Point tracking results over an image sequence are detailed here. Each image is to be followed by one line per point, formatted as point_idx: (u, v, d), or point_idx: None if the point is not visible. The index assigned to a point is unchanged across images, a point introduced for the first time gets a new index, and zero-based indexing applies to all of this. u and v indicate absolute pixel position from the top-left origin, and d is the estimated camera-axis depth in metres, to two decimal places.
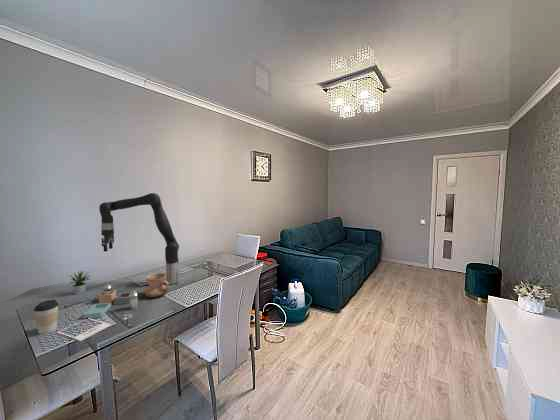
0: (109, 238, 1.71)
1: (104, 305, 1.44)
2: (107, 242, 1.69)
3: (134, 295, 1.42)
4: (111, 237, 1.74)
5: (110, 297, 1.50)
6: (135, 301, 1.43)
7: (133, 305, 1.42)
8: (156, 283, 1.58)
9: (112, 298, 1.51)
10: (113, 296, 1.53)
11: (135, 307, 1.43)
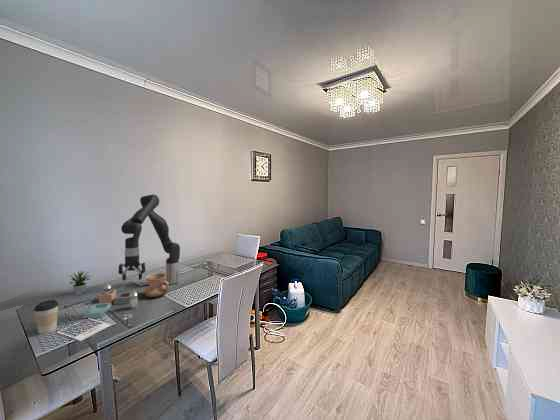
0: None
1: (104, 305, 1.44)
2: (139, 268, 1.45)
3: (134, 295, 1.42)
4: None
5: (110, 297, 1.50)
6: (135, 301, 1.43)
7: (133, 305, 1.42)
8: (156, 283, 1.58)
9: (112, 298, 1.51)
10: (113, 296, 1.53)
11: (135, 307, 1.43)
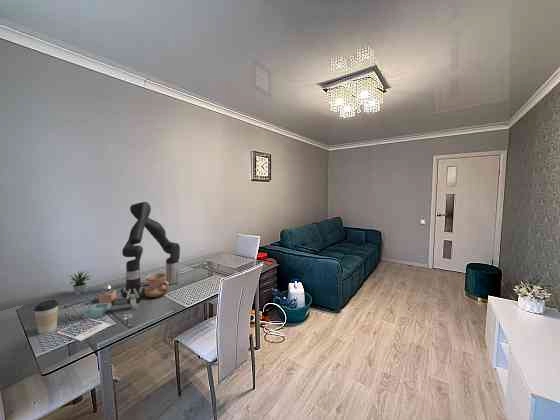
0: None
1: (104, 305, 1.44)
2: (139, 292, 1.45)
3: (134, 295, 1.42)
4: None
5: (110, 297, 1.50)
6: (135, 301, 1.43)
7: (133, 305, 1.42)
8: (156, 283, 1.58)
9: (112, 298, 1.51)
10: (113, 296, 1.53)
11: (135, 307, 1.43)
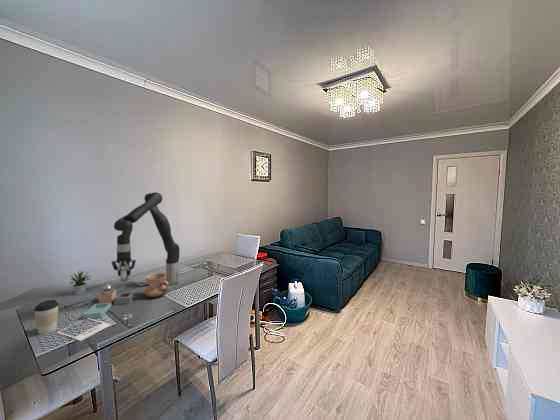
0: None
1: (104, 305, 1.44)
2: (129, 265, 1.53)
3: (124, 267, 1.49)
4: None
5: (110, 297, 1.50)
6: (125, 273, 1.50)
7: (123, 277, 1.49)
8: (156, 283, 1.58)
9: (112, 298, 1.51)
10: (113, 296, 1.53)
11: (125, 279, 1.50)
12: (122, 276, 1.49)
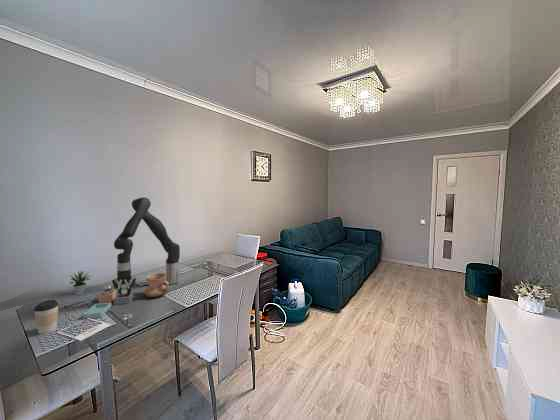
0: None
1: (104, 305, 1.44)
2: (129, 282, 1.54)
3: (125, 286, 1.50)
4: None
5: (110, 297, 1.50)
6: (126, 291, 1.51)
7: (123, 295, 1.50)
8: (156, 283, 1.58)
9: (112, 298, 1.51)
10: (113, 296, 1.53)
11: None
12: (122, 294, 1.50)
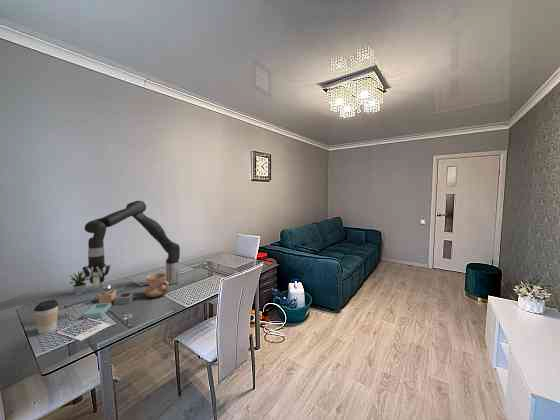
0: None
1: (104, 305, 1.44)
2: (103, 270, 1.39)
3: (97, 273, 1.35)
4: None
5: (110, 297, 1.50)
6: (98, 280, 1.36)
7: (95, 284, 1.35)
8: (156, 283, 1.58)
9: (112, 298, 1.51)
10: (113, 296, 1.53)
11: (98, 286, 1.36)
12: (94, 283, 1.35)
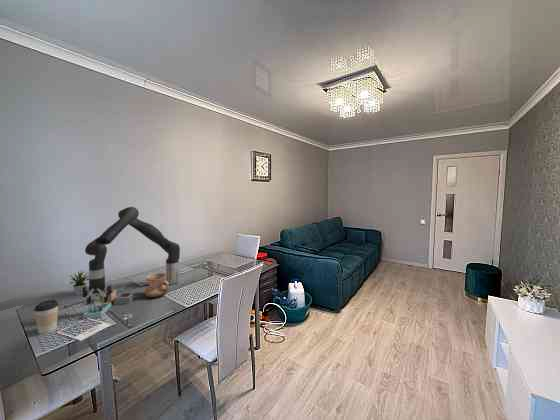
0: None
1: (104, 305, 1.44)
2: (105, 290, 1.40)
3: (98, 297, 1.36)
4: None
5: (110, 297, 1.50)
6: (99, 304, 1.37)
7: (96, 308, 1.36)
8: (156, 283, 1.58)
9: (112, 298, 1.51)
10: (113, 296, 1.53)
11: (99, 310, 1.37)
12: (95, 307, 1.36)
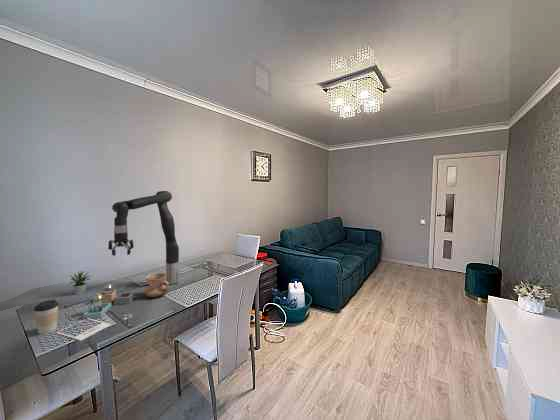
0: None
1: (104, 305, 1.44)
2: (128, 245, 1.58)
3: (98, 297, 1.36)
4: None
5: (110, 297, 1.50)
6: (99, 304, 1.37)
7: (96, 308, 1.36)
8: (156, 283, 1.58)
9: (112, 298, 1.51)
10: (113, 296, 1.53)
11: (99, 310, 1.37)
12: (95, 307, 1.36)
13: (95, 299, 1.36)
